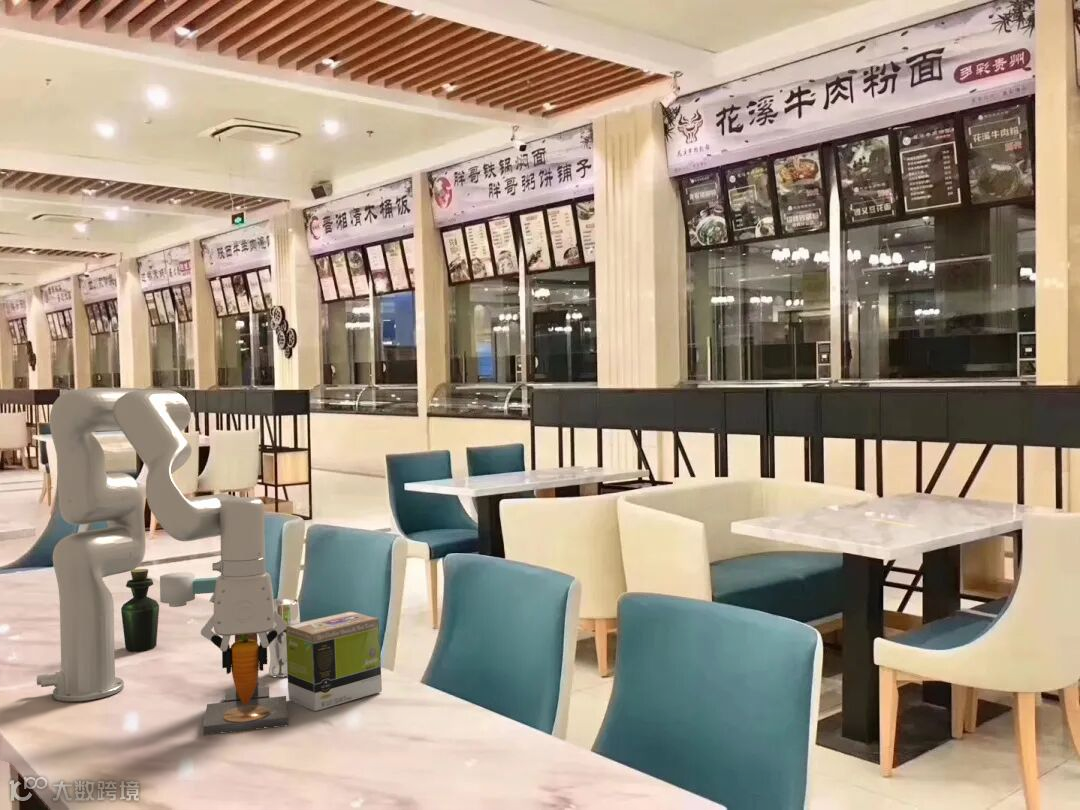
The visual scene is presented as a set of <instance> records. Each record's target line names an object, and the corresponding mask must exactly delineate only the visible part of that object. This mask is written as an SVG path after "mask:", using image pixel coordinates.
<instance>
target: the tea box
mask: <svg viewBox="0 0 1080 810" xmlns="http://www.w3.org/2000/svg"><path fill="white" fill-rule="evenodd" d="M380 636H381V635H380V620H379V618H378V617H374V616H371V615H366V614H363V613H358V612H354V611H347V612H342V613H337V614H332V615H328V616H323V617H318V618H314V619H310V620H305V621H300V623H296V624H292V625H287V628H286V643H287V673H288V677H287V692H288V699H289V701H290V700H291V702H292V701H294V702H296V703H298V704H297V705H299V704H300V705H299V706H301V705H302V707H303V706H304V707H303V708H306V707H307V708H306V709H308V708H309V710H310V709H311V710H310V711H314V712H317V711H320V710H324V709H328V708H331V707H335V706H338V705H341V704H344V703H348V702H352V701H355V700H357V699H360V698H361V699H362V698H366V697H368V696H371V695H375V694H378V693H381V692H382V690H383V687H382V661H381V656H382V655H381V637H380ZM294 702H293V703H294ZM296 703H295V704H296Z"/></svg>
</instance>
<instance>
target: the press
mask: <svg viewBox="0 0 1080 810" xmlns="http://www.w3.org/2000/svg"><path fill="white" fill-rule="evenodd" d="M245 638H246V636H245ZM239 640H241V638H240V636H239V635H234V643H235V642H237V641H239ZM248 640H254V641H256V642H257V644H258V645H259V643H258V633H254V634H251V635H250V637H249V638H248ZM204 713H205V714H204V720H203V725H202V731H203V733H202V734H209V735H212V734H211V733H218V734H222V733H221V732H227V733H233V731H236V732H242V731H243V730H245V731H251V729H254V730H257V729H256V728H263V729H265V728H264V727H272V728H275V727H274V726H280V727H286V726H285V725H288V726H289V716H288V704H287V695H283V696H282V695H280V696H272V697H270V686H269V685H268V686H259V676H258V677H257V683H256V687H255V690H254V693H253V695H252V697H251V699H250V702H249V703H248V704H247V705H244V704H243V703H242V701H241V699H240V697H239V696H238V693H237V691H236V689H230V690H225V693H224V702H213V703H207V704H206V708H205V712H204ZM231 731H232V732H231ZM243 732H244V731H243Z"/></svg>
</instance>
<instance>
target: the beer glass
mask: <svg viewBox="0 0 1080 810" xmlns="http://www.w3.org/2000/svg"><path fill="white" fill-rule="evenodd" d="M273 601H274V610H275V611H276V612H277V613H278V614H279V615H280V616H281V617H282V619H283V620H284V621H285V622H286V623H287V625H292V624H296V623H301V615H300V605H299V604H300V603H299V599H297V598H293V597H291V598H290V597H285V598H281V597H280V598H273ZM276 626H277V624H276V623H275V622H274V626H273V628H272V629H274V628H275V627H276ZM272 629H271V630H272ZM271 630H270V631H271ZM270 631H268V632H266V633H267V634H268V633H269V632H270ZM268 650H269V666H268V673H267V674H268V676H269V675H270V676H269V677H271V676H276V677H282V678H284V677H283V676H288V673H287V643H286V629H285V630H283V631H282V632H281V633H280V634H279V635H277V637H276V638H275V639H274V640H273V641H272V642H271V643H270V644H269V646H268ZM276 677H275V678H276Z"/></svg>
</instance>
